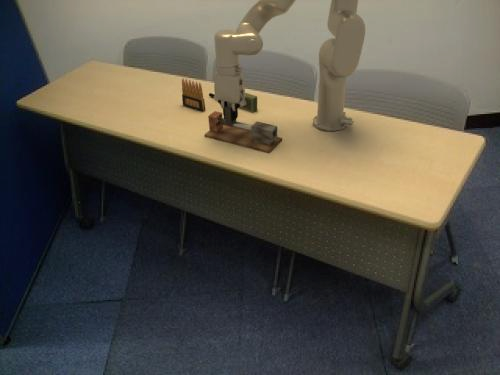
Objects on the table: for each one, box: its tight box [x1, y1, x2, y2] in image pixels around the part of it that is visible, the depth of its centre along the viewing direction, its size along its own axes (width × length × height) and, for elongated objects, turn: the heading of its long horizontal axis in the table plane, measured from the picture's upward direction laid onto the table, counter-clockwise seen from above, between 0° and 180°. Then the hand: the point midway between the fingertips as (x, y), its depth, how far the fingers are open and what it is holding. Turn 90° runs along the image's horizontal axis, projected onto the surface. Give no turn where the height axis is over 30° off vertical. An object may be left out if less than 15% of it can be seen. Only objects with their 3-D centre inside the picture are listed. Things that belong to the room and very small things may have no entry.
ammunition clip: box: [181, 77, 206, 113], centre depth 190 cm, size 11×2×12 cm, turn 54°
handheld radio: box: [208, 92, 258, 114], centre depth 194 cm, size 7×3×25 cm
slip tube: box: [217, 103, 253, 132], centre depth 168 cm, size 20×4×8 cm, turn 61°
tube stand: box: [204, 110, 283, 154], centre depth 170 cm, size 26×10×7 cm, turn 61°
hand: (230, 118), depth 170 cm, fingers closed on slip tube, 2 cm apart
